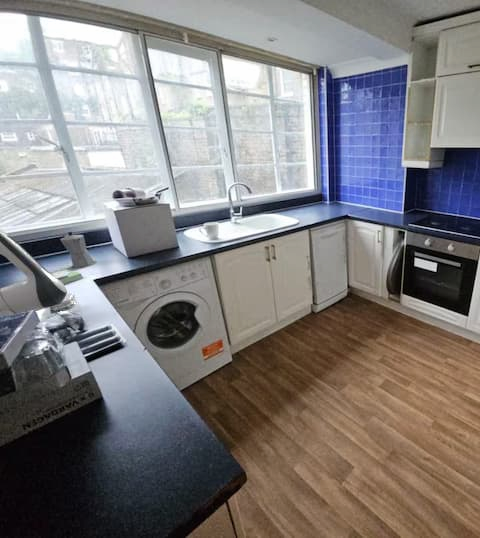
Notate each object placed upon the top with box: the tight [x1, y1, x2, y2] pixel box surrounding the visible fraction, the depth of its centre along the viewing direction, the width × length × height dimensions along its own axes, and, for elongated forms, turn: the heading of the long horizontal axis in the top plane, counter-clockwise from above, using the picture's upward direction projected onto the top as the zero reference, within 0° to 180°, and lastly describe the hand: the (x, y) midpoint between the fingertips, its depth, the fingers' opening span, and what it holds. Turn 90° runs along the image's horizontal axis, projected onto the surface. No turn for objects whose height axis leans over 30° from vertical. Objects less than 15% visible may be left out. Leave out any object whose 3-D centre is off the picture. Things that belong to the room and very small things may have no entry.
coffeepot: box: [60, 231, 95, 269], centre depth 153 cm, size 15×9×18 cm, turn 67°
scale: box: [50, 268, 83, 285], centre depth 136 cm, size 14×14×3 cm
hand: (39, 300), depth 106 cm, fingers open, 8 cm apart
